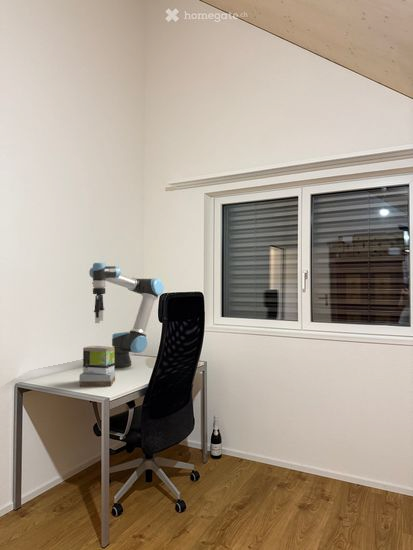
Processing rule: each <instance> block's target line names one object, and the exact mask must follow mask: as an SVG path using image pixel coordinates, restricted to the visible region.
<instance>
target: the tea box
mask: <svg viewBox="0 0 413 550" xmlns="http://www.w3.org/2000/svg"><path fill="white" fill-rule="evenodd" d="M114 352H115V351H114V346H112V345H89V346H84V347H83V348H82V353H83V354H82V373H93V374H109V373H111V372H114V370H115V367H114Z"/></svg>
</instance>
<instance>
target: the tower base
mask: <svg viewBox="0 0 413 550" xmlns="http://www.w3.org/2000/svg"><path fill="white" fill-rule="evenodd" d="M115 381H116V375H115V376H114V377H113V379H112V380H111V381H81V382H79V387H81V388H87V387H88V388H89V387H92V388H93V387H96V388H97V387H100V388H101V387H112V386H113V384H114V383H115Z"/></svg>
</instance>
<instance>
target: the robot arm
mask: <svg viewBox="0 0 413 550" xmlns="http://www.w3.org/2000/svg"><path fill="white" fill-rule="evenodd" d="M88 272H89V276H90V277H91V278H92V282H91V284H92V294H93V295H95V296H94V297H95V300H94V310H93V313H94V323H95V324H100V323H101V322H103V321H104V311H105V307H104V297H103V296H104V295H105V294H106V282H108V283H110V284H114V285H117V286H120V287H123V288H126V289H127V290H128V291H131V292H134V293H136V294H138V295H141V296H142V298H141V302H140V304H139V308H138V312H137V315H136V317H135V318H136V319H135V321H134V323H133V326H132V329H130V330H129V331H125V332H124V331H123V332H116V333H113V334H112V335H111V336H112V339H111V346H114V351H115V352H114V368H116V369H117V368H118V369H119V368H121V369H122V368H127V367H129V368H130V367H131V366H132V359H131V356H130V353H133V354H141V353H142V352H144V351H145V350H146V349H147V346H148V338H147V334H146V330H147V326H148V323H149V320H150V316H151V313H152V309H153V307H154V304H155V301H156V300H158V297H159V296H160V295H162V294H163V292H164V284H163V281H162V280H161V279H158V278H136V277H128V276H126V275H123V274H122V272H121V268H120V267H119V266H115V265H114V266H112V265H111V266H109V265H108V266H106V263H105V262H94V263H93V264H92V267H91V268H90V269H89V271H88Z"/></svg>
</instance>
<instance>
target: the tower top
mask: <svg viewBox="0 0 413 550" xmlns="http://www.w3.org/2000/svg"><path fill="white" fill-rule="evenodd" d="M114 376H115V377H116V369H114V372H111V373H109V374H93V373H83V372H81V373H80V374H79V383H80V382H81V381H111V380H112V379H113V377H114Z"/></svg>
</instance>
